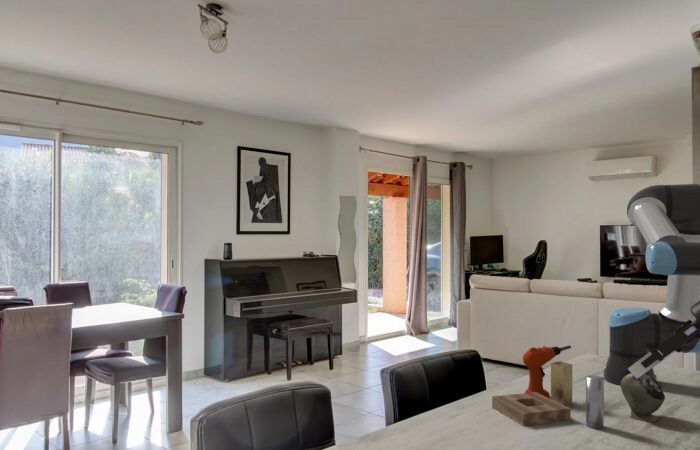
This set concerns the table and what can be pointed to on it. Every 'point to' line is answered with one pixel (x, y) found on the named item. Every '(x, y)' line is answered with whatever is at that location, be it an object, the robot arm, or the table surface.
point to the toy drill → (539, 366)
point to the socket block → (531, 408)
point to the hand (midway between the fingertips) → (640, 368)
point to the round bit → (594, 402)
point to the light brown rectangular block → (561, 382)
